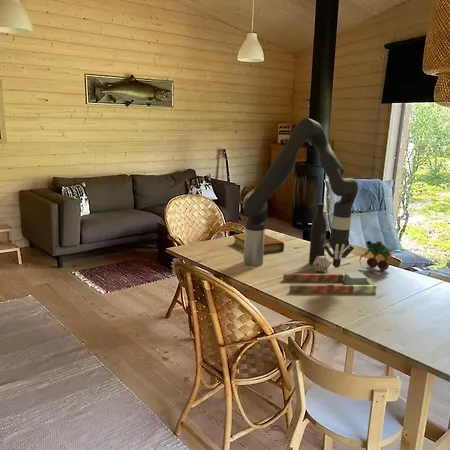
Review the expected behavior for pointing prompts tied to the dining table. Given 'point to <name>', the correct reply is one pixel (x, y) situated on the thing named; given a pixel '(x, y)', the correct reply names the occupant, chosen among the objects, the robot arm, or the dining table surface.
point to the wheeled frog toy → (377, 250)
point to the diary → (269, 243)
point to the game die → (321, 263)
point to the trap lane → (326, 288)
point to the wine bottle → (318, 234)
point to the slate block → (355, 279)
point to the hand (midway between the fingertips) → (336, 267)
